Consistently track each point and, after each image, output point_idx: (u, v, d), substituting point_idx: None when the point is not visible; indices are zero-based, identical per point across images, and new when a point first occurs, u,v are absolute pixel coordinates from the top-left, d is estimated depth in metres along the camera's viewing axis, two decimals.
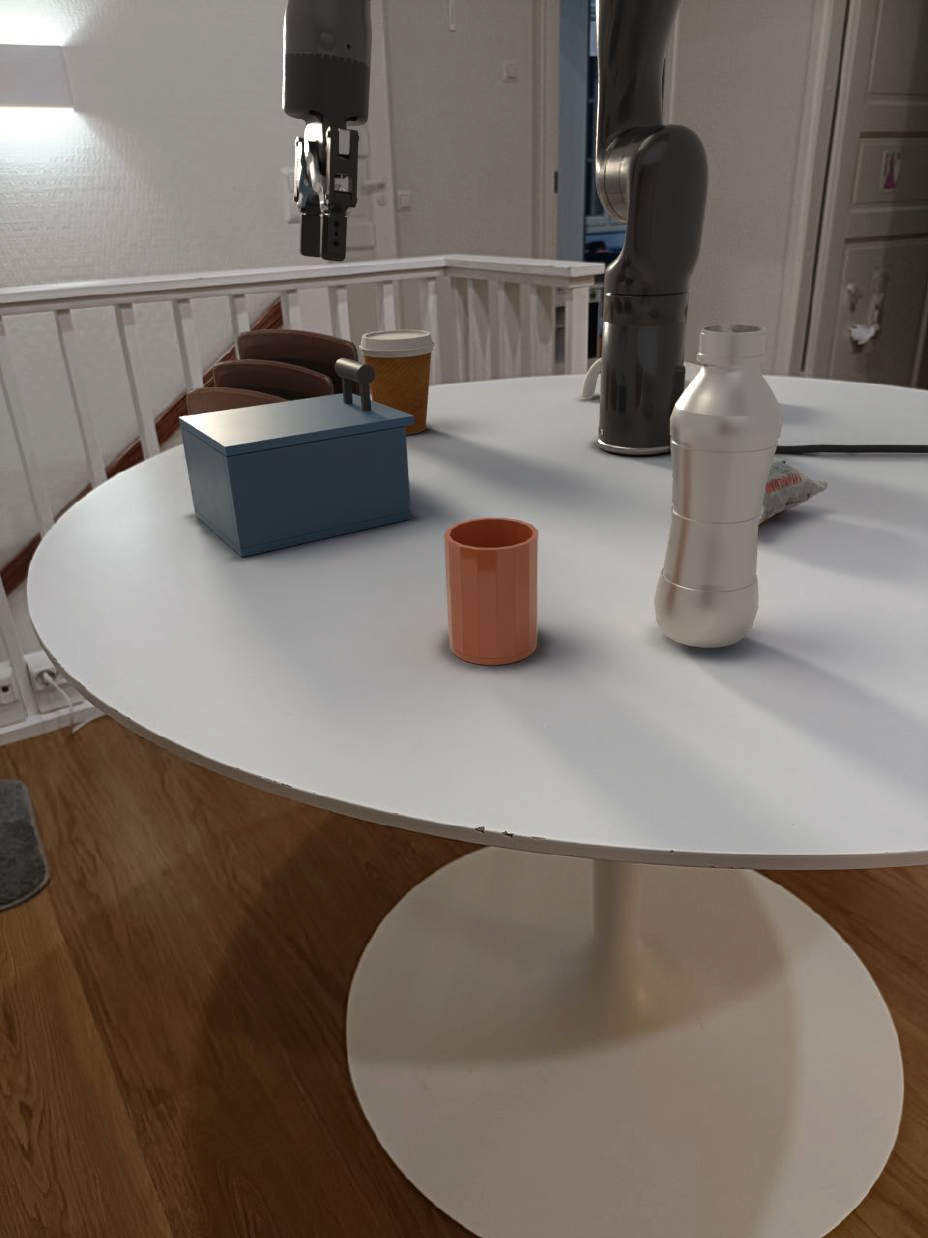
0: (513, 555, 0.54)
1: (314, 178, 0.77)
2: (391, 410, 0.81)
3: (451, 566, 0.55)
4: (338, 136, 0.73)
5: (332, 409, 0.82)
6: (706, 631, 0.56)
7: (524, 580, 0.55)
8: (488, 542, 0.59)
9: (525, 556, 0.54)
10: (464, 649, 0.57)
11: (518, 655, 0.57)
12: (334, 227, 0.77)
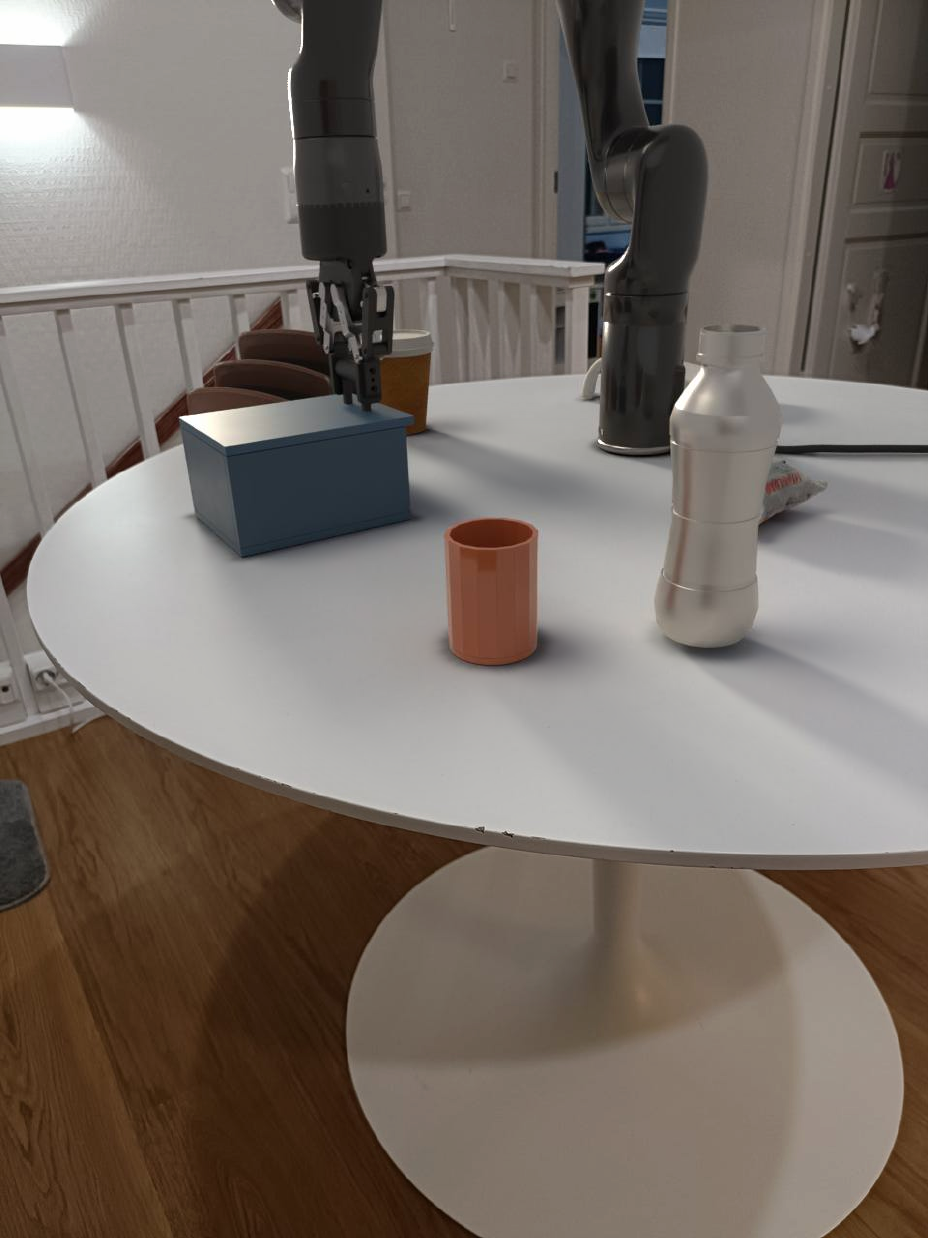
0: (513, 555, 0.54)
1: (346, 328, 0.77)
2: (391, 410, 0.81)
3: (451, 566, 0.55)
4: (375, 297, 0.74)
5: (332, 409, 0.82)
6: (706, 631, 0.56)
7: (524, 580, 0.55)
8: (488, 542, 0.59)
9: (525, 556, 0.54)
10: (464, 649, 0.57)
11: (518, 655, 0.57)
12: (370, 374, 0.79)
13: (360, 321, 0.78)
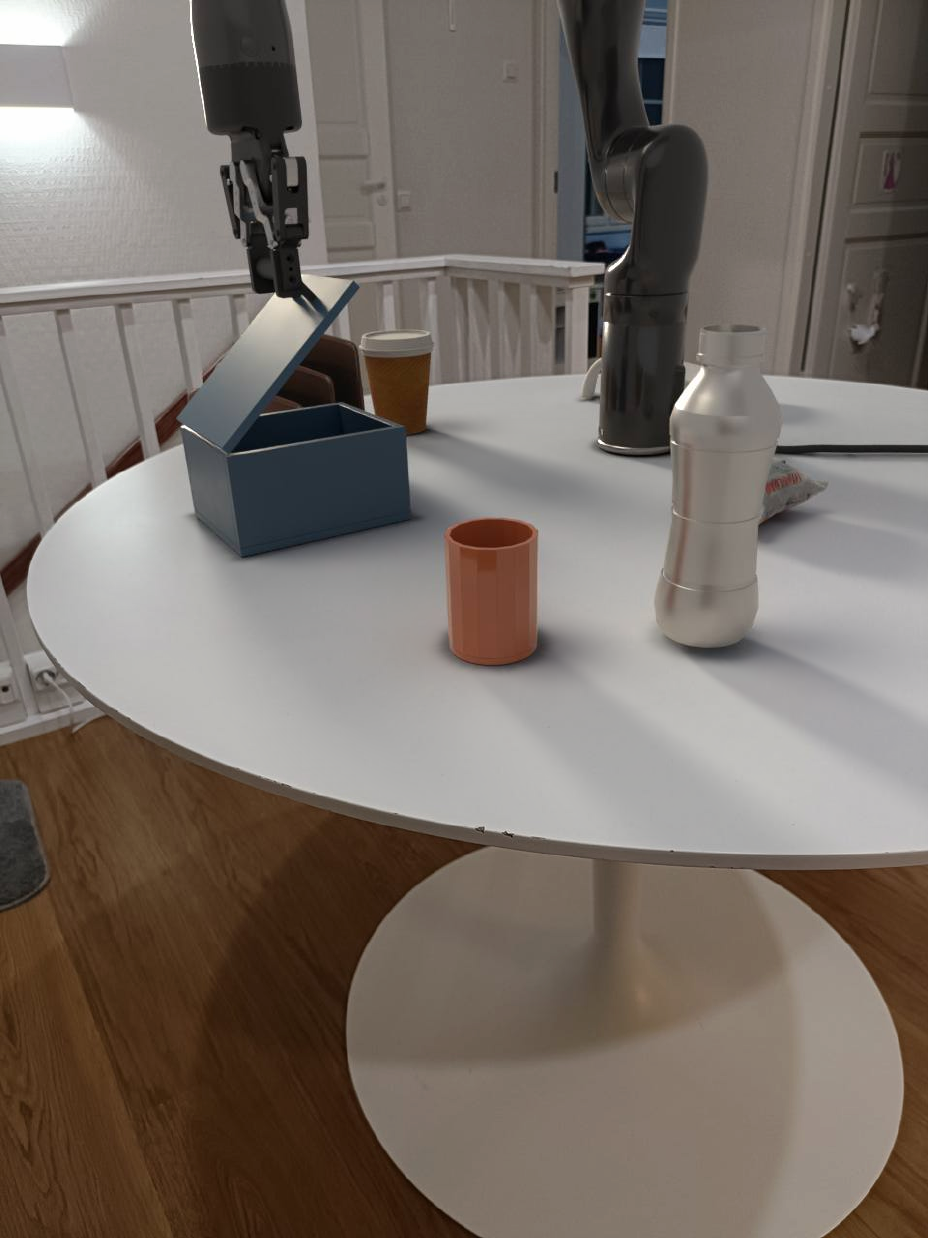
0: (513, 555, 0.54)
1: (258, 210, 0.70)
2: (333, 283, 0.74)
3: (451, 566, 0.55)
4: (285, 168, 0.66)
5: (285, 317, 0.77)
6: (706, 631, 0.56)
7: (524, 580, 0.55)
8: (488, 542, 0.59)
9: (525, 556, 0.54)
10: (464, 649, 0.57)
11: (518, 655, 0.57)
12: (287, 262, 0.71)
13: None
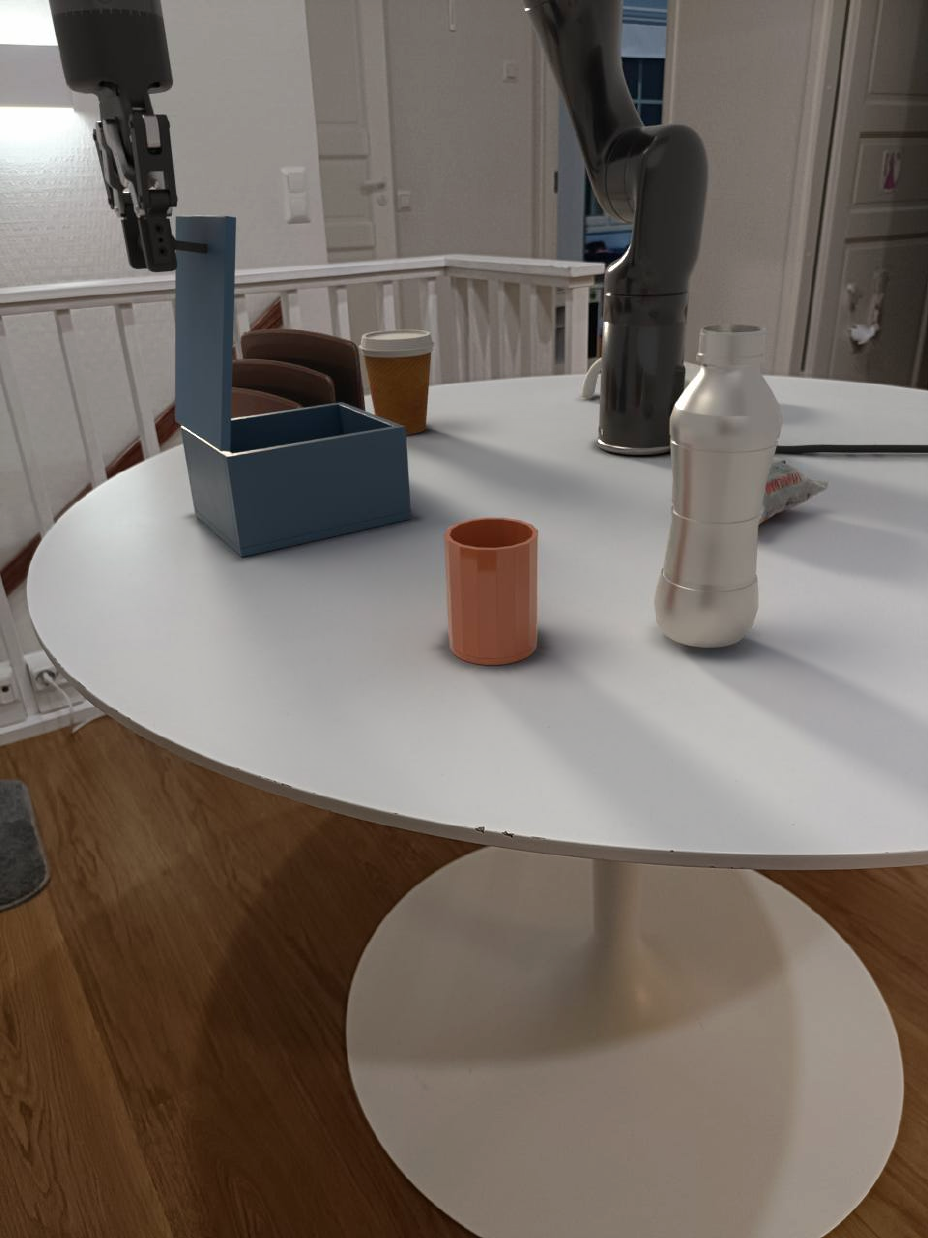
0: (513, 555, 0.54)
1: (122, 174, 0.64)
2: (212, 224, 0.68)
3: (451, 566, 0.55)
4: (144, 127, 0.60)
5: (196, 279, 0.72)
6: (706, 631, 0.56)
7: (524, 580, 0.55)
8: (488, 542, 0.59)
9: (525, 556, 0.54)
10: (464, 649, 0.57)
11: (518, 655, 0.57)
12: (157, 233, 0.66)
13: None
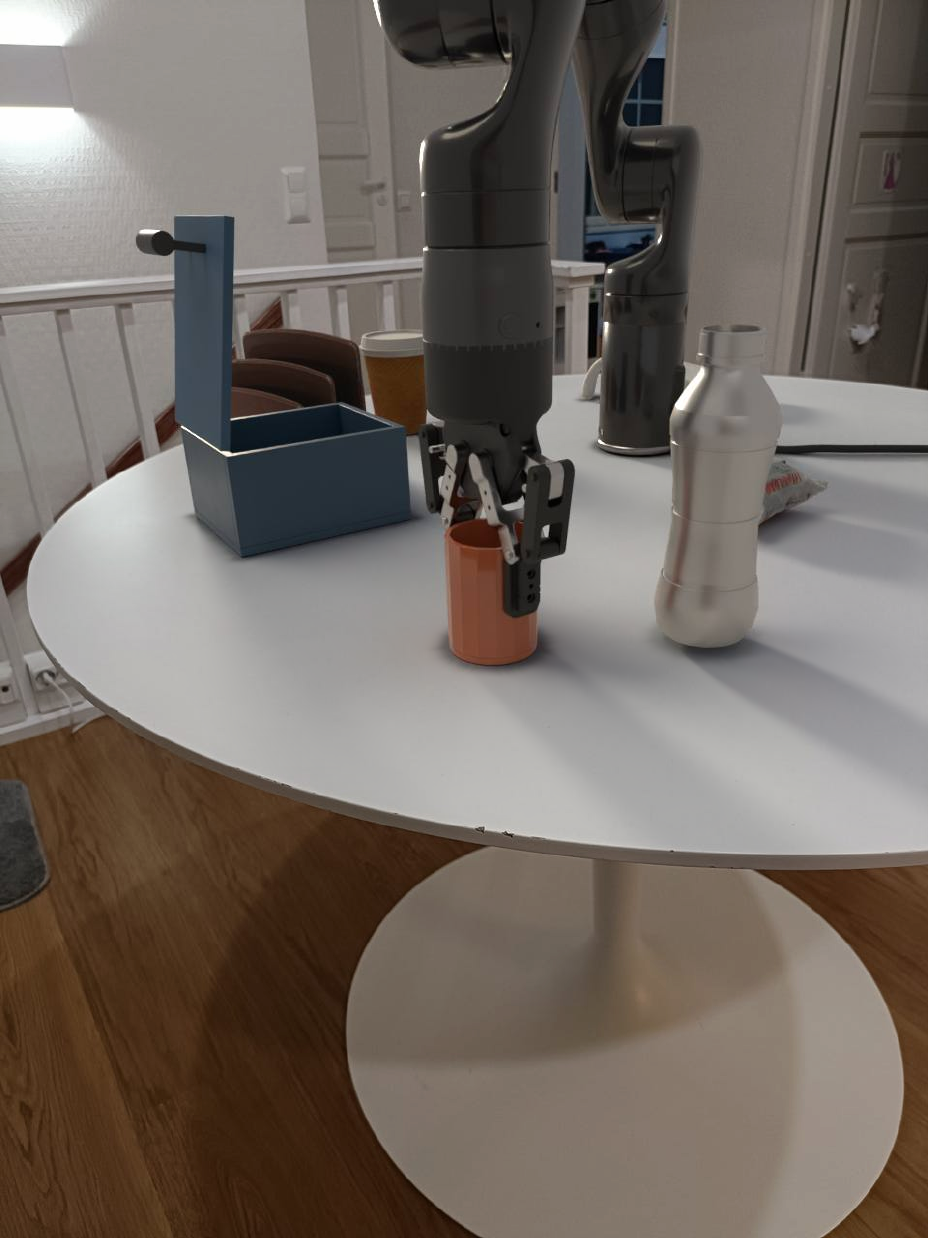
0: None
1: (495, 517, 0.52)
2: (210, 224, 0.68)
3: (451, 566, 0.55)
4: (548, 479, 0.48)
5: (195, 279, 0.72)
6: (706, 631, 0.56)
7: None
8: (488, 542, 0.59)
9: None
10: (464, 649, 0.57)
11: (517, 655, 0.57)
12: (528, 579, 0.53)
13: (509, 503, 0.53)
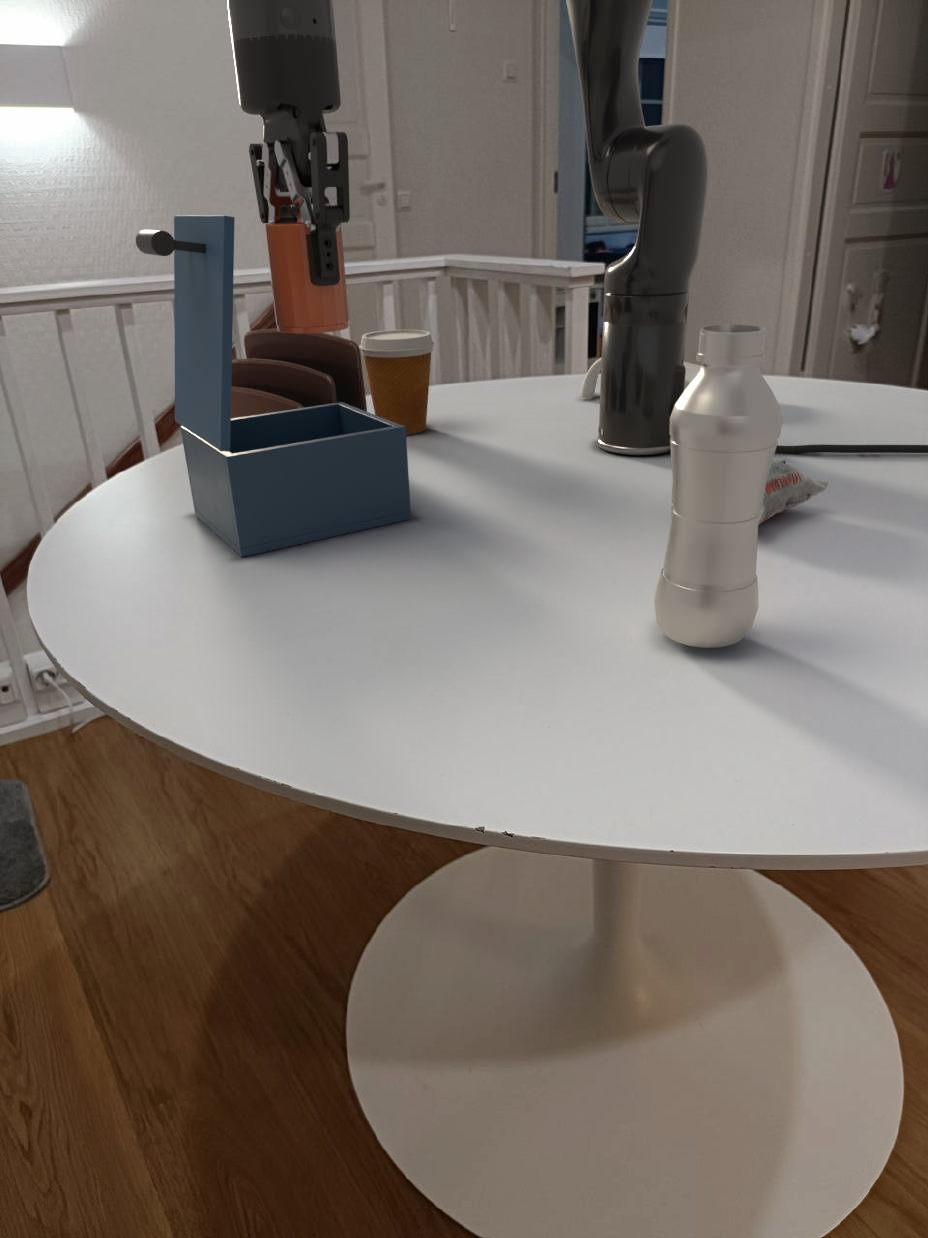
0: None
1: (294, 191, 0.65)
2: (210, 224, 0.68)
3: (269, 247, 0.69)
4: (325, 143, 0.62)
5: (195, 279, 0.72)
6: (706, 631, 0.56)
7: None
8: None
9: None
10: (284, 322, 0.71)
11: (327, 326, 0.71)
12: (325, 247, 0.67)
13: None
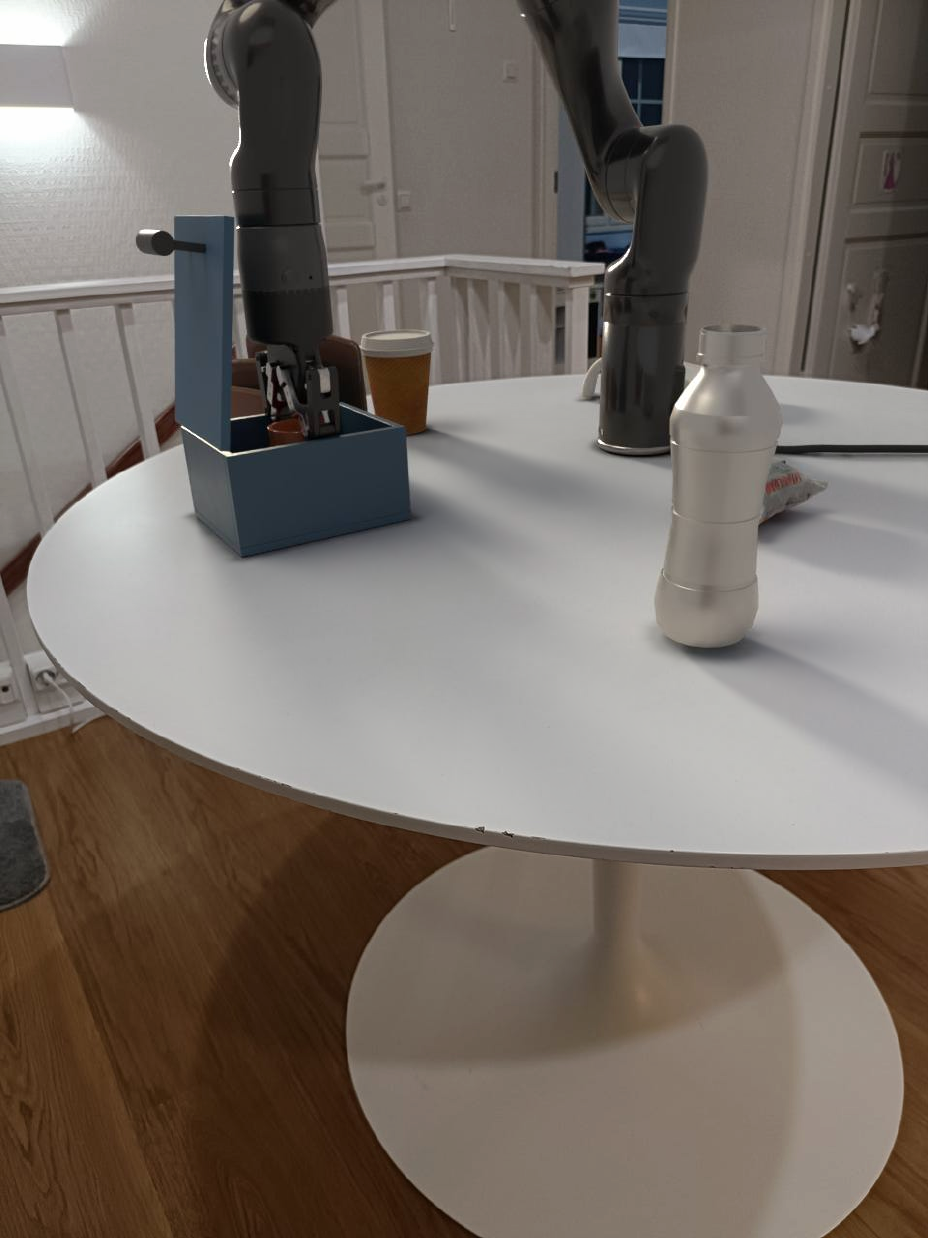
0: None
1: (293, 409, 0.77)
2: (210, 224, 0.68)
3: None
4: (318, 378, 0.73)
5: (195, 279, 0.72)
6: (706, 631, 0.56)
7: None
8: None
9: None
10: None
11: None
12: None
13: (307, 402, 0.78)
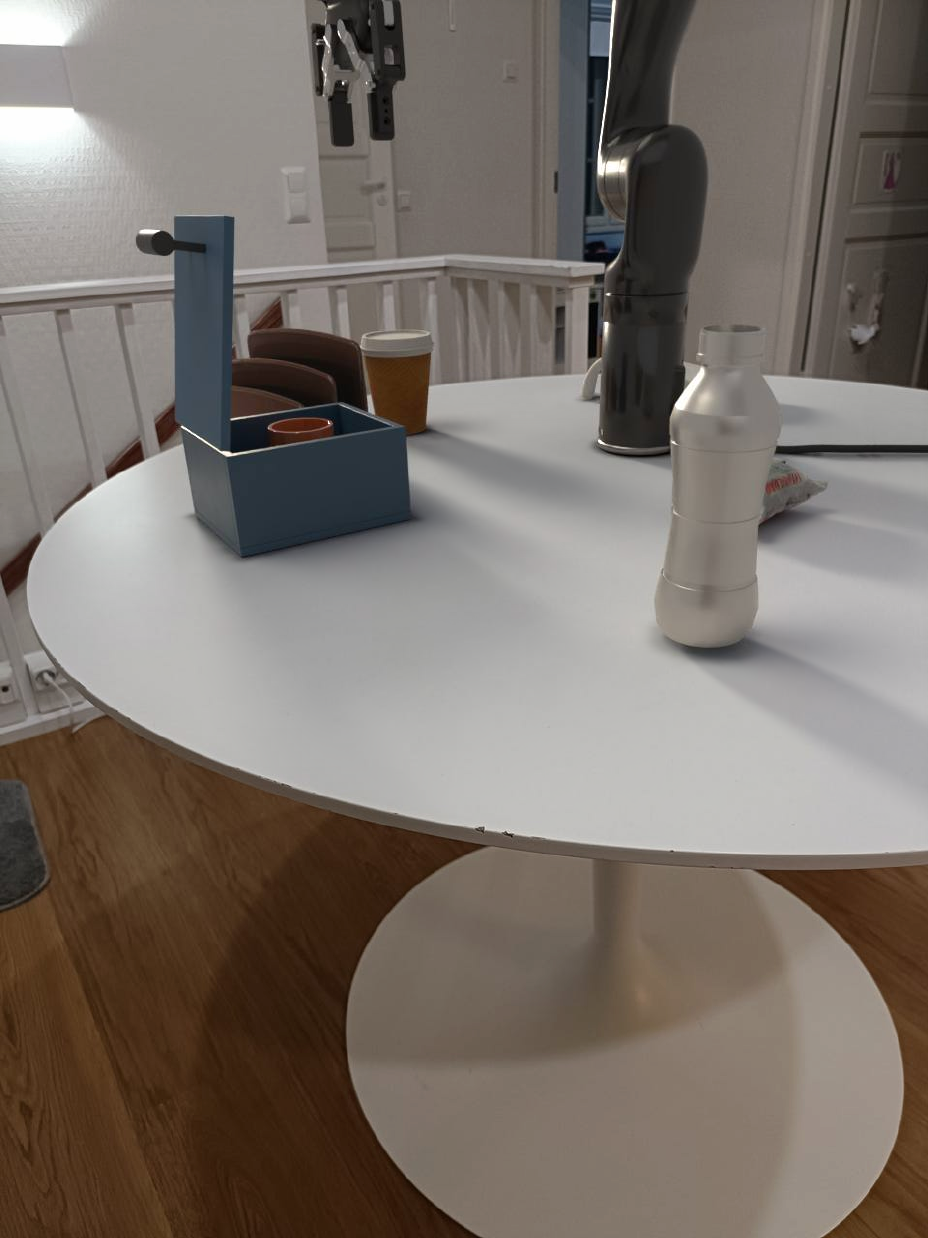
0: (310, 437, 0.79)
1: (356, 56, 0.77)
2: (210, 224, 0.68)
3: None
4: (382, 6, 0.74)
5: (195, 279, 0.72)
6: (706, 631, 0.56)
7: None
8: None
9: None
10: None
11: None
12: (383, 104, 0.78)
13: None
